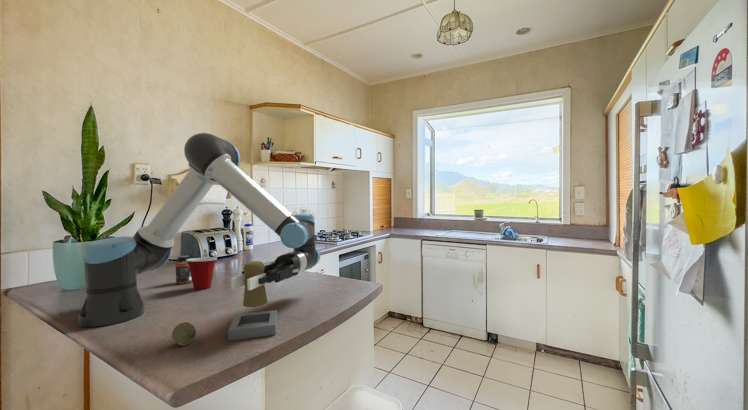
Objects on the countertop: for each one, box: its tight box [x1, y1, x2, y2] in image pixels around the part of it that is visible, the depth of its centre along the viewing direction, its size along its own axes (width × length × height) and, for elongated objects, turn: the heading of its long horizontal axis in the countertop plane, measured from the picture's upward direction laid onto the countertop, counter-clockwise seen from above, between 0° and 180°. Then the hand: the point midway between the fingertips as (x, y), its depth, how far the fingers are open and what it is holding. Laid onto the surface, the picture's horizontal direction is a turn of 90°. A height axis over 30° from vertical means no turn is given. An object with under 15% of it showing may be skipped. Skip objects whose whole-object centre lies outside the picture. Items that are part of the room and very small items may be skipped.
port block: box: [227, 309, 278, 342], centre depth 82 cm, size 11×11×2 cm
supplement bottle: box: [175, 255, 193, 285], centre depth 131 cm, size 6×6×11 cm
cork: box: [242, 260, 268, 308], centre depth 82 cm, size 6×6×11 cm
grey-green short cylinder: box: [171, 321, 197, 347], centre depth 74 cm, size 4×5×5 cm
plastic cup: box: [186, 256, 218, 291], centre depth 122 cm, size 11×11×12 cm
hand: (240, 284), depth 76 cm, fingers closed on cork, 4 cm apart
